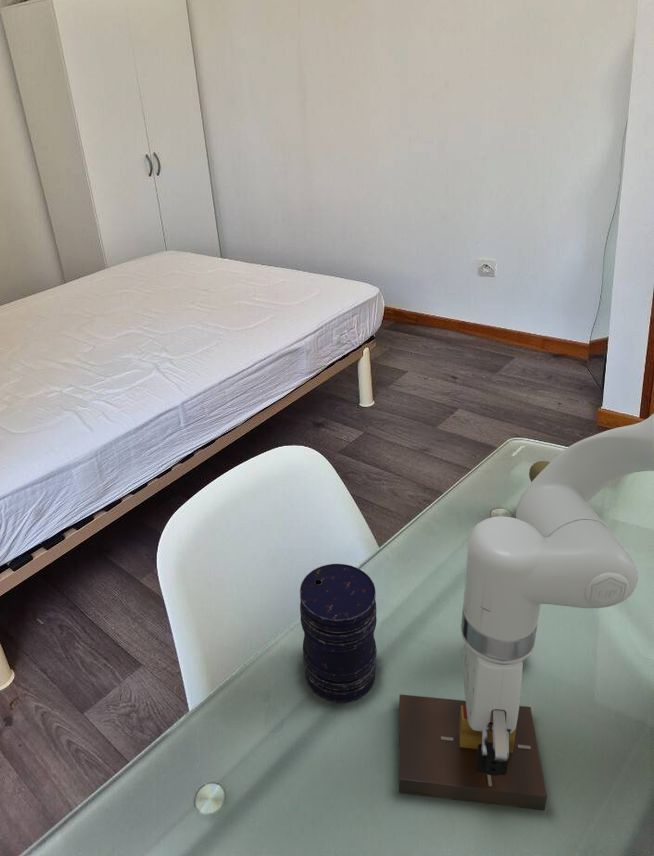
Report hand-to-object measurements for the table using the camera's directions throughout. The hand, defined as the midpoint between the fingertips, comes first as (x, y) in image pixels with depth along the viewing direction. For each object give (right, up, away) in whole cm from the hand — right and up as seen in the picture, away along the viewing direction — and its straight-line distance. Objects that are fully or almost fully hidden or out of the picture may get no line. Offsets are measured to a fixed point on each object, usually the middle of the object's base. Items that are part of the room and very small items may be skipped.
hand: (486, 731), depth 80 cm
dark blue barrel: (-16, 0, +14) cm, 21 cm away
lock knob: (0, -2, +1) cm, 2 cm away
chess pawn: (+21, +15, +40) cm, 47 cm away
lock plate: (-2, -4, +2) cm, 5 cm away
